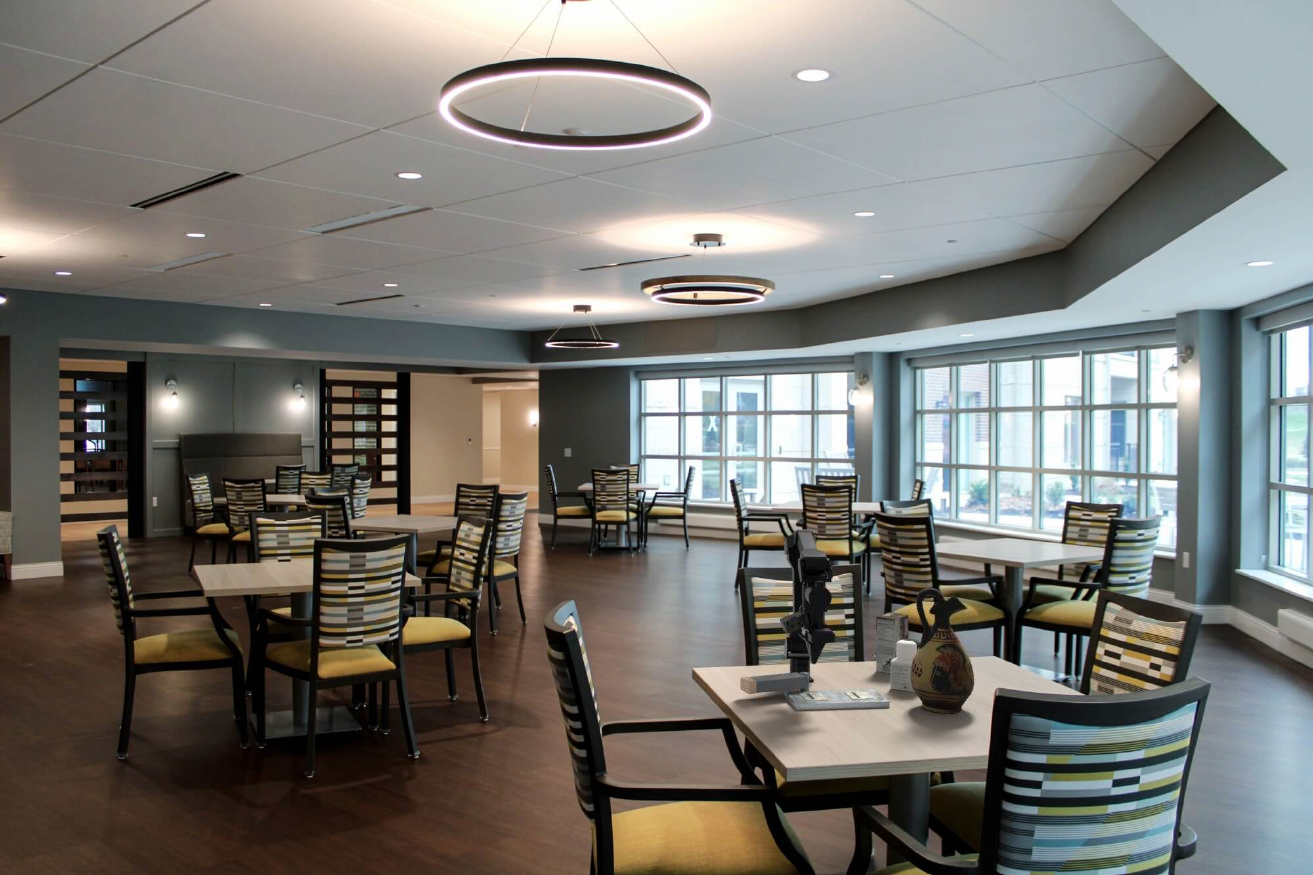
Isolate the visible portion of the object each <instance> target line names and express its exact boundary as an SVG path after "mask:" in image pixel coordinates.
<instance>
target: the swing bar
mask: <svg viewBox="0 0 1313 875" xmlns="http://www.w3.org/2000/svg"><path fill="white" fill-rule="evenodd" d="M739 685H740V688H739V689H740V690H741V691H743V692H744V693H746V694H748V695H756V694H761V693H770V692H780V691H781V692H782V691H791V690H792V691H793V690H799V691H810V681H809V673H808V672H800V674H799V673H797V672H795V673H790V672H789V673H788V672H787V673H786V672H784V673H777V674H774V673H773V674H766V675H753V676H740V683H739Z"/></svg>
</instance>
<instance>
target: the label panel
mask: <svg viewBox="0 0 1313 875" xmlns="http://www.w3.org/2000/svg"><path fill="white" fill-rule="evenodd" d="M784 699H785V700H787V702H788V703H789V704H790V705H791V706H792V707H793V708H794V709H795V710H796V711H809V710H810V711H811V710H812V711H813V710H814V711H815V710H841V709H842V710H844V709H845V710H846V709H849V710H850V709H874V708H876V709H878V708H879V709H880V708H881V709H882V708H890V707H891V705H890V704H891V702H890V700H888V699H887V698H886V697H885V696H883V695H882V694H880V693H879V692H878V691H876V690H875V689H874V688H870V689H869V688H866V689H861V688H860V689H833V690H829V689H826V690H809V691H800V690H797V691H796V690H795V691H793V690H792V691H791V690H788V691H784Z"/></svg>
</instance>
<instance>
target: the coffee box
mask: <svg viewBox="0 0 1313 875" xmlns="http://www.w3.org/2000/svg"><path fill="white" fill-rule="evenodd" d="M875 619H876V620H875V622H876V625H875V626H876V627H875V628H876V631H875V632H876V633H875V634H876V637H875V638H876V639H875V640H876V641H875V642H876V644H875V646H876V648H875V649H876V650H875V654H876V655H875V657H876V659H875V660H876V661H875V666H876V667H875V668H876V669H875V670H876V672H880V673H885V674H890V675H891V660H893V659H894V658H896V657H897V656H896V642H897V641H898V640H900V639H909V614H903V613H898V612H892V611H891V612H886V613H883V614H880V615H877V616H876V617H875Z"/></svg>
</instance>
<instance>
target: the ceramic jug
mask: <svg viewBox="0 0 1313 875" xmlns="http://www.w3.org/2000/svg"><path fill="white" fill-rule="evenodd" d="M928 597H934V598H936V599H937V602H935V603H934V604H933V605H932V606H931V607H930V608H929V611H928V612H929V613H928V614H931V615H934V616H935V617H936V618H935V621H934V623H933V625H932V627H931V628H930V625H929V622H928V619H927V617H926V613H925V609H924V603H923V601H924V599H926V598H928ZM915 601H916V602H915V603H916V605H915V606H916V610H917V613H918V614H917V615H918V616H919V620H920V623H921V626H922V629H923V632H922V635H921V639H920V641H919V642H920V647H919V648H918V650H917V652H916V654H915V656H914V658H913V662H912V666H911V672H910V680H911V685H912V688H913V690H914V692H913V693H915V695H916V696H917V697H918V698H919V700H920V701H921V707H922V708H924V709H927V710H929V711H932V712H934V713H941V714H942V713H943V714H950V715H954V714H957V713H961V712H963V708H962V707H963V705H964V704H965V702H966V701H967V700H968V699H969V698H970V696H972V693H973V691H974V688H975V674H974V673H975V672H974V669H973V664H972V662H971V661H972V660H971V659H970V656H969V654H968V652H967V650H966V649H965V647H964V645H963V644H962V641H961V640H960V639H959V637H958V636H957V634H956V633H955V631H954V629H953V628H952V627H951V622H950V617H951V616H952V615H954V614H957V613H959V612H962V611H966V610H967V609H968V607H967V606H966V605H965V604H964V603H963V602H962V601H961V600H960V599H959V597H957V596H956V595H955V594H954V595H951V596H950V597H948V598H947V599H945V597H944V595H943V594H942V592H941V591H940V590H938V589H937V588H935V587H934V588H933V587H925V588H922V589H921V590H920V591H919V592H918V594H917V596H916V600H915Z"/></svg>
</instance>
